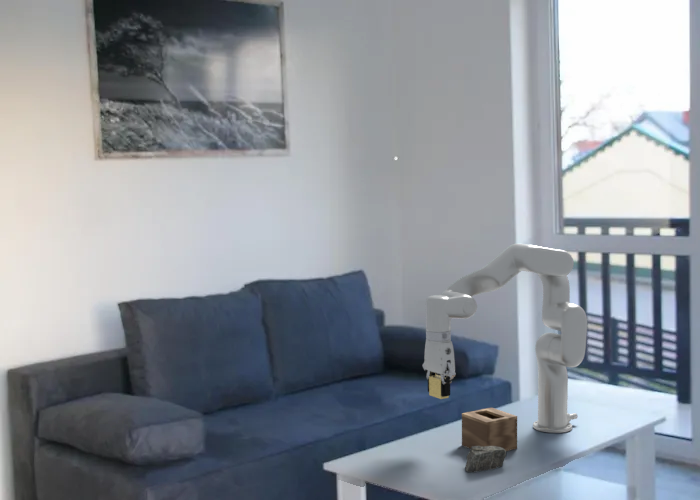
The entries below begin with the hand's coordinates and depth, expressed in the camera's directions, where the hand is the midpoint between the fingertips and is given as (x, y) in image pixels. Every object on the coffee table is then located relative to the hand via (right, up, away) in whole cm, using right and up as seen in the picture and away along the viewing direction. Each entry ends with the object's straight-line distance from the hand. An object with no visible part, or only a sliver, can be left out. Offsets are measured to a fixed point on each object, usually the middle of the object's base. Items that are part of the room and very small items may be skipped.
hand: (438, 393), depth 280 cm
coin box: (+16, -17, +2) cm, 23 cm away
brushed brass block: (0, -1, 0) cm, 1 cm away
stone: (+11, -19, -17) cm, 28 cm away
